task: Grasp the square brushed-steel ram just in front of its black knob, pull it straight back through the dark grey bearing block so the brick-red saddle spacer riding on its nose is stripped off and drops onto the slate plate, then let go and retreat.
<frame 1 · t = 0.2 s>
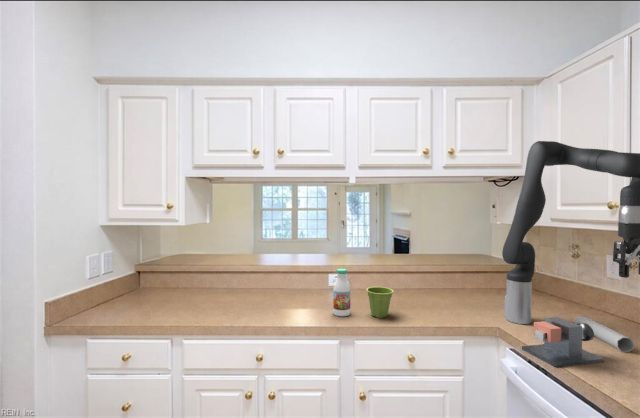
hand: (633, 276, 101), 28 cm above the table, fingers open, 8 cm apart
milk bottle: (341, 314, 153), on the table
spacer: (547, 331, 110), point 8 cm above the table, touching shaft
shaft: (562, 333, 111), point 7 cm above the table, slide at 0.0 cm, touching spacer
bearing block: (562, 355, 112), on the table
tube: (599, 338, 127), on the table
plant pot: (379, 315, 151), on the table
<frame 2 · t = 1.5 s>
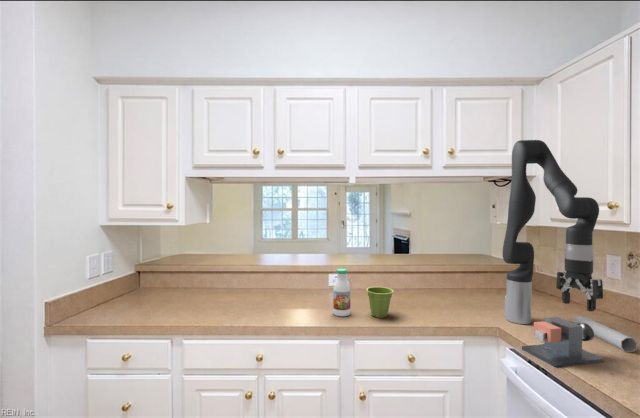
hand: (578, 307, 112), 15 cm above the table, fingers open, 8 cm apart
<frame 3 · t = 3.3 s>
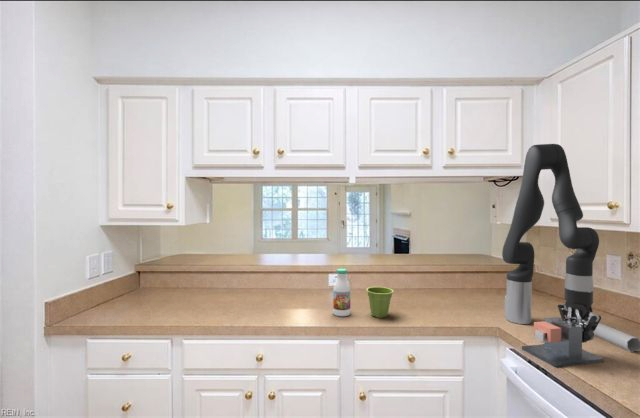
hand: (577, 339, 113), 5 cm above the table, fingers closed on shaft, 3 cm apart
shaft: (562, 333, 111), point 7 cm above the table, slide at 0.0 cm, touching gripper, spacer
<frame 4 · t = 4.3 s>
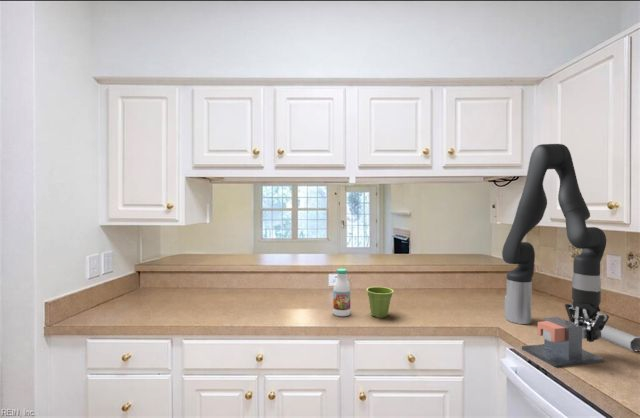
hand: (585, 338, 113), 5 cm above the table, fingers closed on shaft, 3 cm apart
spacer: (551, 331, 111), point 8 cm above the table, touching shaft
shaft: (570, 333, 112), point 7 cm above the table, slide at 2.9 cm, touching gripper, spacer
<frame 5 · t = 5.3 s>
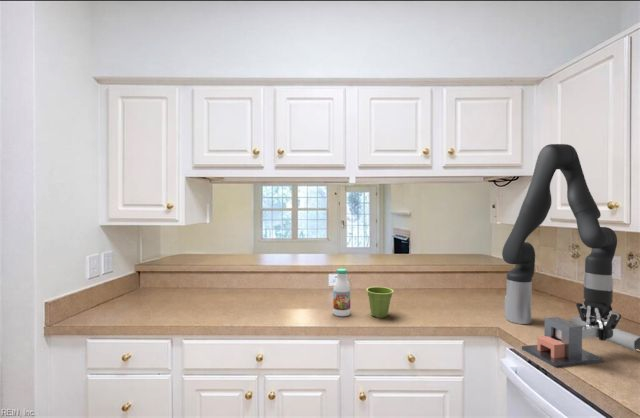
hand: (597, 337, 114), 5 cm above the table, fingers closed on shaft, 3 cm apart
spacer: (550, 346, 111), point 3 cm above the table, touching bearing block
shaft: (582, 332, 113), point 7 cm above the table, slide at 7.7 cm, touching gripper
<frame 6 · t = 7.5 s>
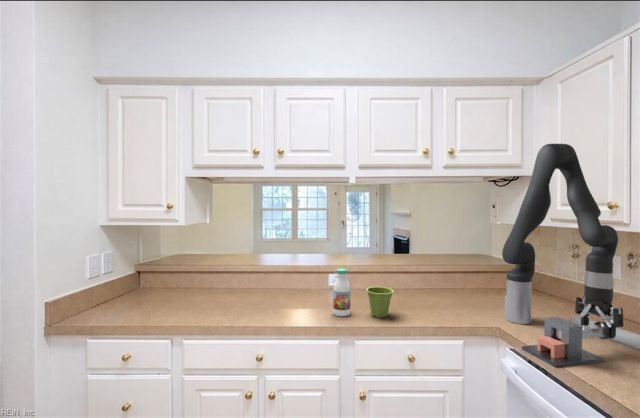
hand: (597, 333, 114), 6 cm above the table, fingers open, 8 cm apart
shaft: (582, 332, 113), point 7 cm above the table, slide at 7.9 cm
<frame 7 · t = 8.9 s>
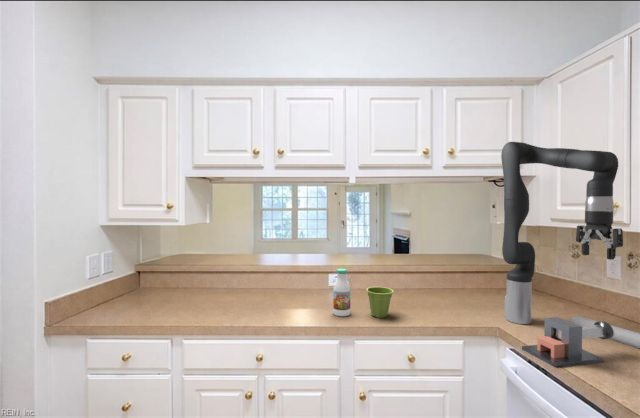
hand: (597, 257, 117), 31 cm above the table, fingers open, 8 cm apart
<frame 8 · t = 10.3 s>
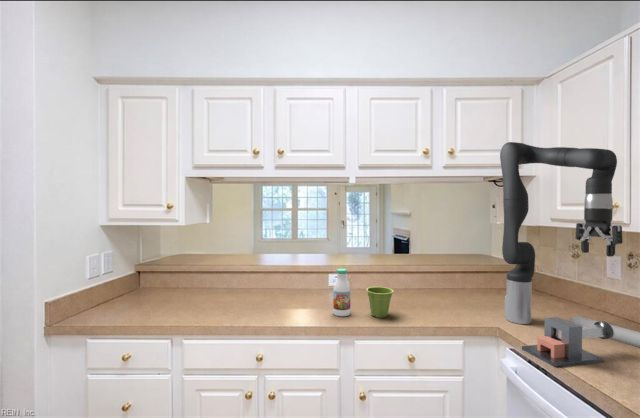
hand: (597, 254, 117), 32 cm above the table, fingers open, 8 cm apart
at the end: shaft slide at 7.9 cm; spacer inside the target area (4.0 cm from its centre), point 3.1 cm above the table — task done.
